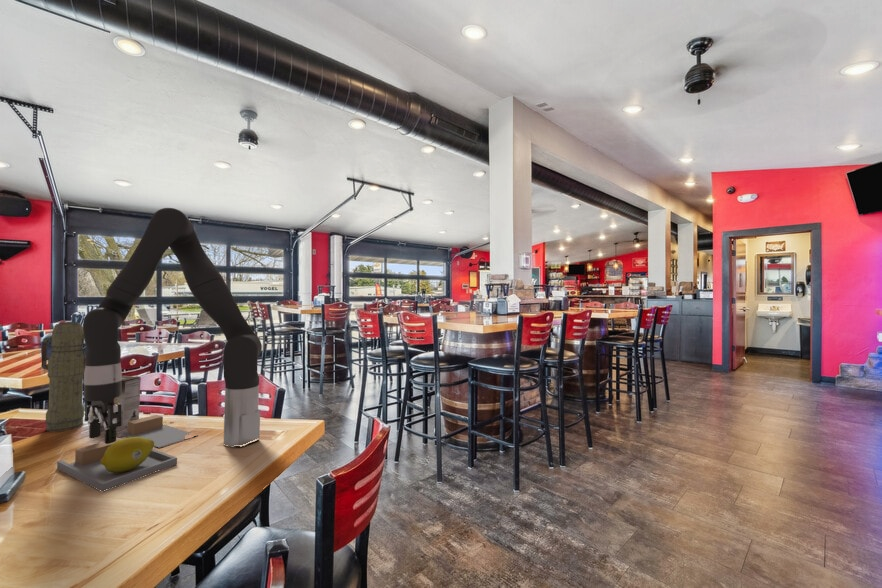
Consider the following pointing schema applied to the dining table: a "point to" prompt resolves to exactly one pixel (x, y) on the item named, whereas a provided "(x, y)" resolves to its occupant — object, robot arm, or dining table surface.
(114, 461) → the lemon
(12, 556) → the dining table surface
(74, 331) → the thermos
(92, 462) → the gray tray
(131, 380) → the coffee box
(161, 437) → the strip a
